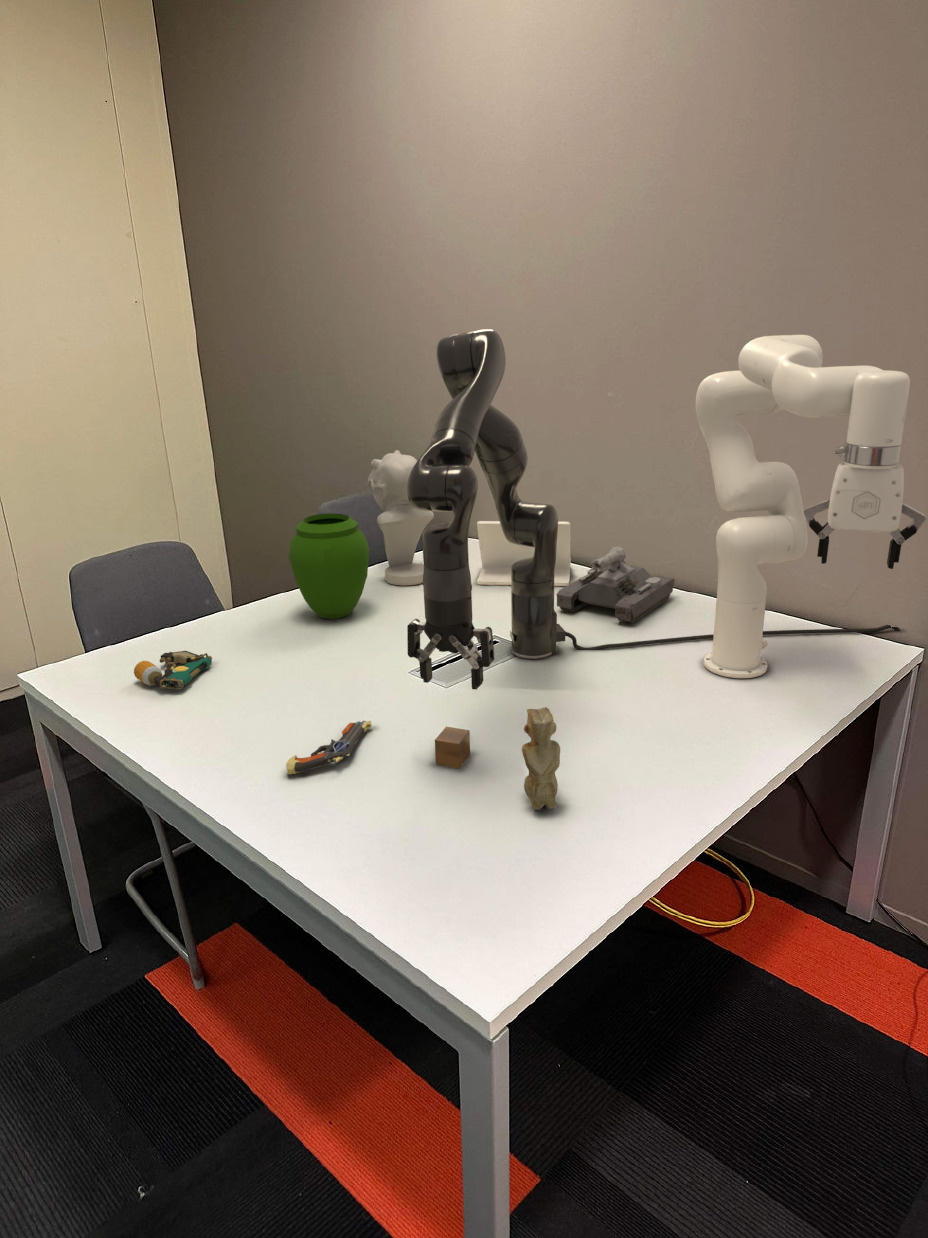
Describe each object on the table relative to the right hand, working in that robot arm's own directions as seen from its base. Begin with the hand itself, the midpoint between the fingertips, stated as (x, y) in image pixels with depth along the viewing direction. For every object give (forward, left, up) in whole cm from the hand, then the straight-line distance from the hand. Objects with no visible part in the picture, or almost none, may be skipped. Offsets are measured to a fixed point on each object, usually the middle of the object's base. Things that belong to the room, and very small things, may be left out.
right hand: (856, 563), depth 135 cm
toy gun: (+62, -60, -32) cm, 92 cm away
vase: (+21, -117, -32) cm, 123 cm away
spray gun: (+66, -110, -32) cm, 133 cm away
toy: (-31, -70, -32) cm, 83 cm away
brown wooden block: (+49, -43, -32) cm, 73 cm away
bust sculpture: (-9, -129, -32) cm, 133 cm away
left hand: (+49, -43, -18) cm, 67 cm away
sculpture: (+48, -23, -32) cm, 63 cm away
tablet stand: (-34, -103, -32) cm, 113 cm away
